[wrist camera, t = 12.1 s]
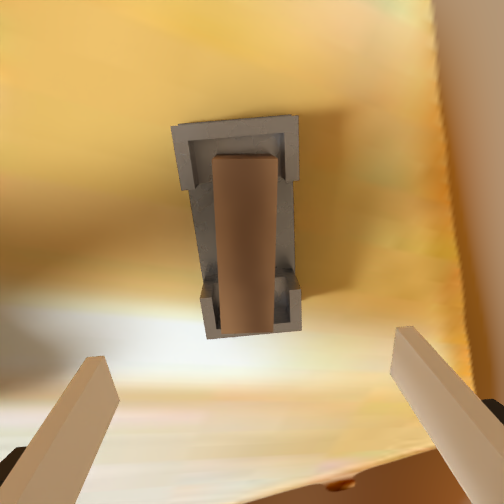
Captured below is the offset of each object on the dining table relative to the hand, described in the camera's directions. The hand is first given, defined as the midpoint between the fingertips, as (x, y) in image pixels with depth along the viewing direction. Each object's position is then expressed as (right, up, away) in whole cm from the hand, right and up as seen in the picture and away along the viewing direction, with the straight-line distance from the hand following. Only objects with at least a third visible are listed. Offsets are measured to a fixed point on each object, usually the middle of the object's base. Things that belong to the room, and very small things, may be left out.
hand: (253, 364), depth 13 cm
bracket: (-1, +8, +20) cm, 22 cm away
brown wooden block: (-1, +7, +17) cm, 19 cm away
